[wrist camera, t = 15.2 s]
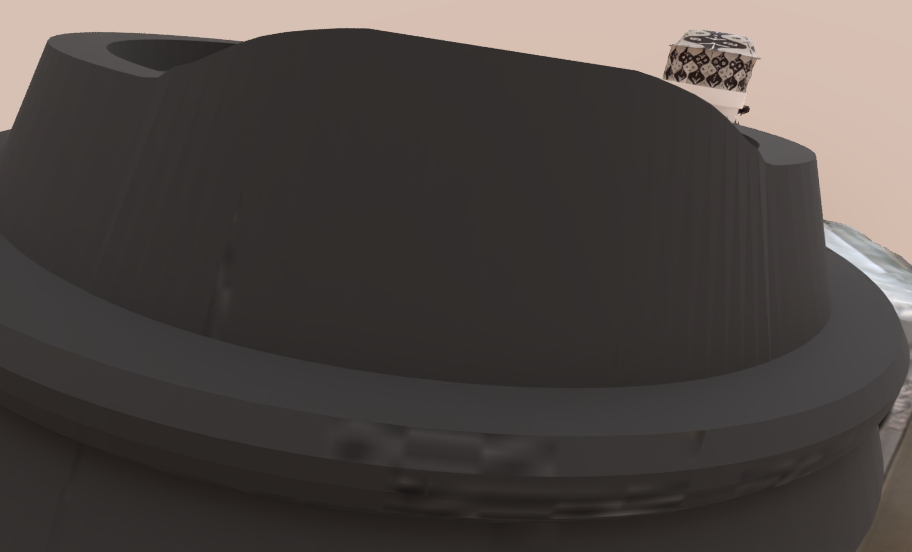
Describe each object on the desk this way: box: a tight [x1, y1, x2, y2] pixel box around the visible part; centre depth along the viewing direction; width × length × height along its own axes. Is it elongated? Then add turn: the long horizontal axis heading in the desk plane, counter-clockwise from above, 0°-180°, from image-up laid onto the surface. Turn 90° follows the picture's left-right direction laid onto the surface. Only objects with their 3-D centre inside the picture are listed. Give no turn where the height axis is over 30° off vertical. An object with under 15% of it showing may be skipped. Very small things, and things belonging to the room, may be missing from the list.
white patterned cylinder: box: [662, 30, 760, 125], centre depth 57 cm, size 9×9×25 cm
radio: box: [823, 220, 912, 552], centre depth 33 cm, size 23×9×15 cm, turn 151°
